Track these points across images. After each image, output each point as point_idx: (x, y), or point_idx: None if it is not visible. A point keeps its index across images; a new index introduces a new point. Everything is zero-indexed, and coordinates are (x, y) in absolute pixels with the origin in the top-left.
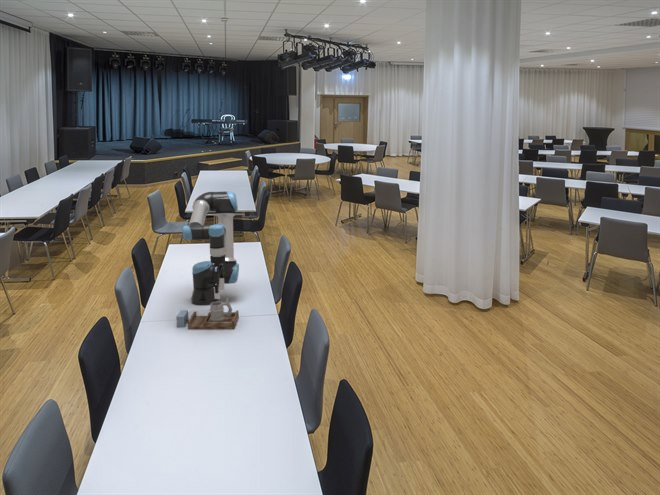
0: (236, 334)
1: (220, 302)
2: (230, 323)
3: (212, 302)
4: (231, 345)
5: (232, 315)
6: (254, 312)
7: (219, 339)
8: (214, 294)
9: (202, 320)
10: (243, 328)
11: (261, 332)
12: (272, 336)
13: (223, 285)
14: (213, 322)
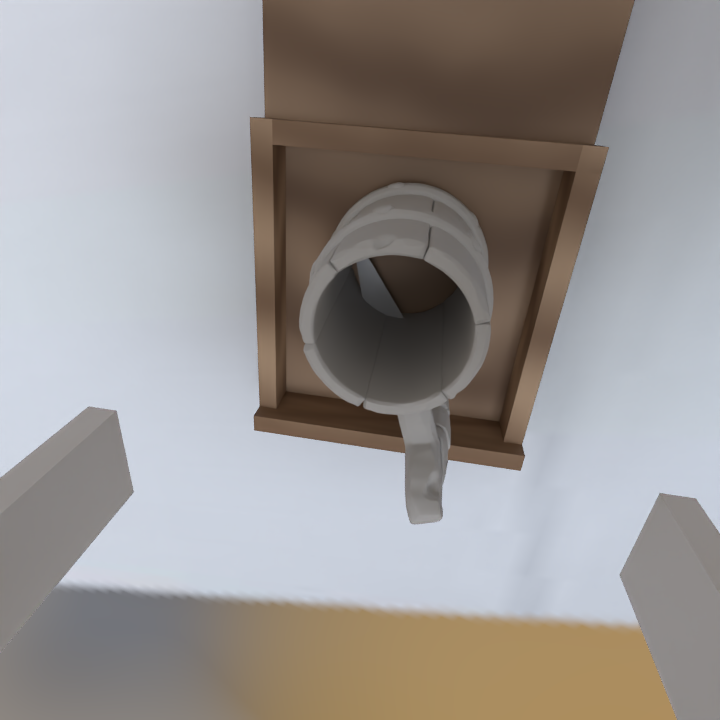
0: (184, 401)
1: (444, 385)
2: (260, 389)
3: (448, 269)
4: (11, 370)
5: (509, 394)
6: (610, 530)
7: (82, 288)
8: (13, 469)
9: (450, 75)
10: (291, 446)
11: (227, 533)
12: (177, 572)
13: (667, 673)
14: (265, 239)
